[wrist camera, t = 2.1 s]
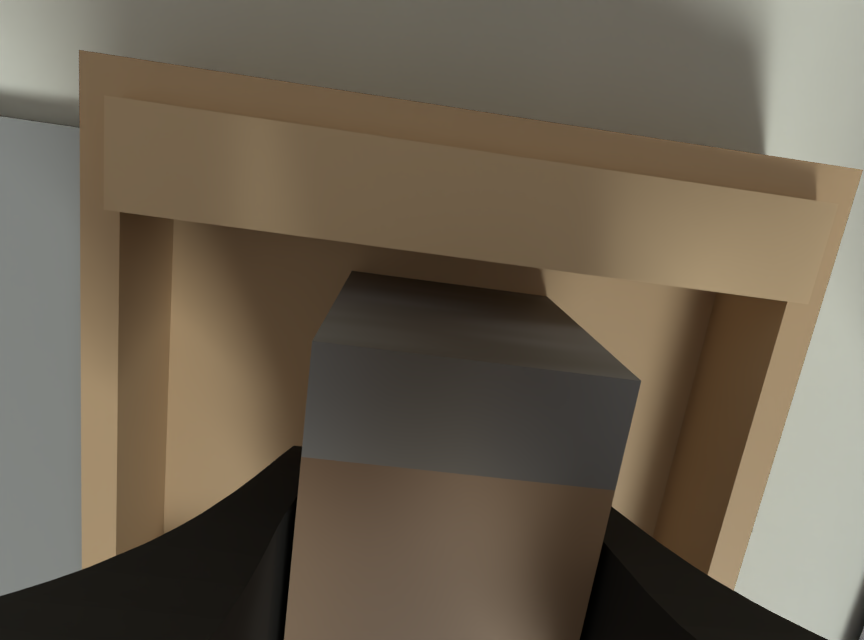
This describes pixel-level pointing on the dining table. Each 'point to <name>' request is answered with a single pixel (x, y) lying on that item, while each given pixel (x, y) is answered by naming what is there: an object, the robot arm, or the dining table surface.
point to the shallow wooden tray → (425, 260)
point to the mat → (39, 353)
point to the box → (453, 466)
